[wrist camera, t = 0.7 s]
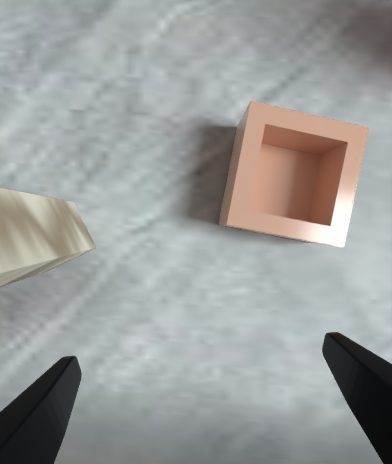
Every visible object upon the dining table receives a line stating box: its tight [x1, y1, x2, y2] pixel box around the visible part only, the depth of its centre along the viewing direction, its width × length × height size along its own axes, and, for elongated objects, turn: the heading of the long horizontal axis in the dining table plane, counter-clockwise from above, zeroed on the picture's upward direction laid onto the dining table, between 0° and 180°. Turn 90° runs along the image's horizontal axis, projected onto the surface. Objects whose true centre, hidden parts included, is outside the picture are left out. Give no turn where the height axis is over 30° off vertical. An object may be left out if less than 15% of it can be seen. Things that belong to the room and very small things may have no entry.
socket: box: [218, 101, 369, 248], centre depth 19 cm, size 10×10×4 cm
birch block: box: [0, 188, 96, 287], centre depth 15 cm, size 5×5×12 cm
